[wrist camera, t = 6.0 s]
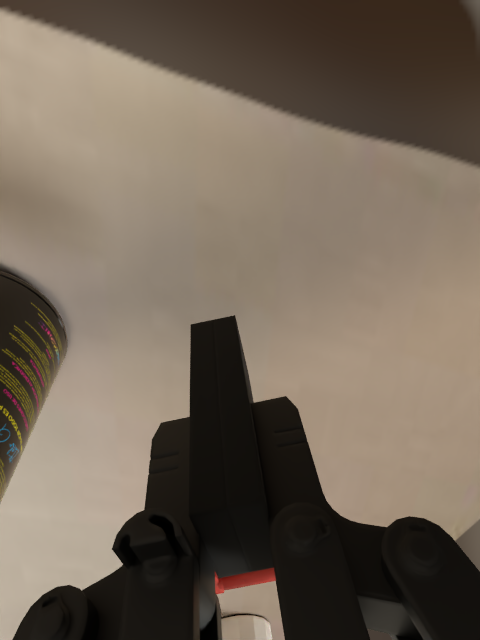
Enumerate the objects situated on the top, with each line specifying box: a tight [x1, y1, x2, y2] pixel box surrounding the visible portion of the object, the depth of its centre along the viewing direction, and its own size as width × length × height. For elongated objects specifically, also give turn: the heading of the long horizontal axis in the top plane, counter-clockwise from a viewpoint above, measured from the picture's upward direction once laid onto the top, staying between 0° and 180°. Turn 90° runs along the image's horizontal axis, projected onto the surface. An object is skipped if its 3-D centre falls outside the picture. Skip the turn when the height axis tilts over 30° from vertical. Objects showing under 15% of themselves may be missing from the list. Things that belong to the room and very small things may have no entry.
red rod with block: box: [215, 568, 276, 594], centre depth 33 cm, size 15×3×1 cm, turn 101°
